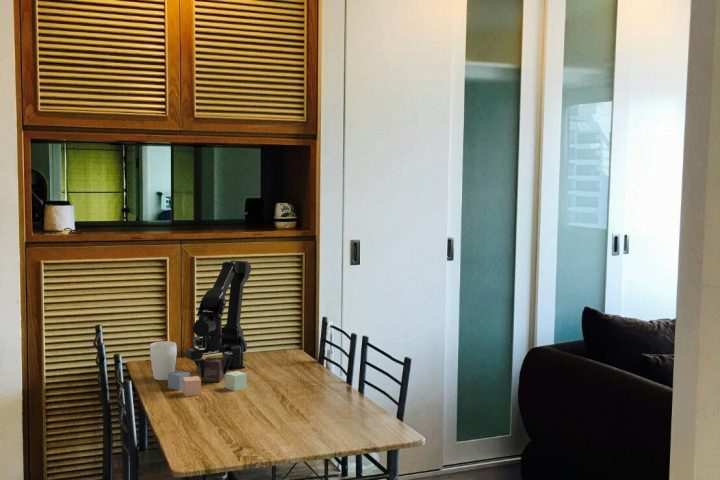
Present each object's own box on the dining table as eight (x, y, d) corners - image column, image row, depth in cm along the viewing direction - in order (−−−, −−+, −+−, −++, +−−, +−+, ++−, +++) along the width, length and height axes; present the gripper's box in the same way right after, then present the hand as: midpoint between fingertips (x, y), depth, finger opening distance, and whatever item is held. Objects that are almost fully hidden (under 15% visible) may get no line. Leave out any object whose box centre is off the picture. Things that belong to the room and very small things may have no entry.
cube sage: (237, 385, 270) (237, 370, 270) (246, 388, 267) (246, 373, 267) (225, 388, 267) (225, 373, 266) (234, 391, 263) (234, 376, 263)
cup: (173, 381, 273) (173, 347, 272) (147, 381, 274) (146, 346, 273) (179, 374, 282) (179, 341, 281) (154, 374, 283) (154, 340, 282)
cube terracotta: (198, 391, 263) (198, 376, 262) (200, 395, 258) (200, 379, 258) (182, 392, 261) (182, 377, 261) (185, 396, 256) (185, 381, 256)
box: (224, 378, 279) (224, 357, 278) (219, 382, 273) (219, 361, 272) (207, 377, 279) (207, 356, 279) (202, 382, 273) (202, 360, 273)
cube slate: (178, 384, 270) (178, 370, 269) (189, 387, 268) (189, 372, 267) (168, 388, 266) (167, 373, 265) (179, 390, 263) (179, 375, 263)
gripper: (226, 324, 287) (226, 367, 288) (178, 330, 275) (178, 374, 277) (241, 329, 278) (241, 373, 279) (191, 335, 267) (191, 381, 268)
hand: (213, 375), depth 276 cm, fingers closed on box, 8 cm apart
